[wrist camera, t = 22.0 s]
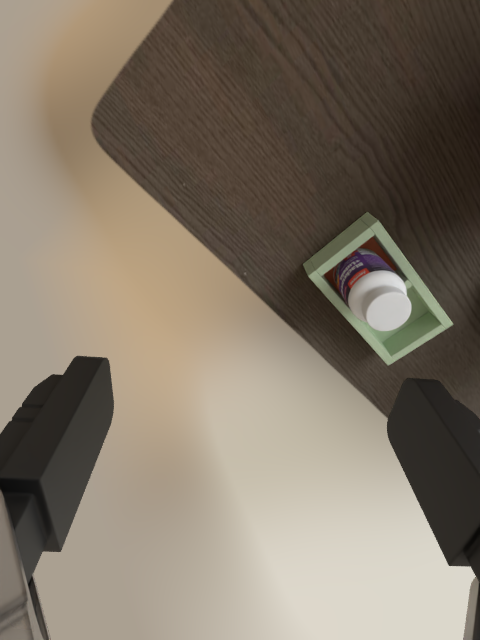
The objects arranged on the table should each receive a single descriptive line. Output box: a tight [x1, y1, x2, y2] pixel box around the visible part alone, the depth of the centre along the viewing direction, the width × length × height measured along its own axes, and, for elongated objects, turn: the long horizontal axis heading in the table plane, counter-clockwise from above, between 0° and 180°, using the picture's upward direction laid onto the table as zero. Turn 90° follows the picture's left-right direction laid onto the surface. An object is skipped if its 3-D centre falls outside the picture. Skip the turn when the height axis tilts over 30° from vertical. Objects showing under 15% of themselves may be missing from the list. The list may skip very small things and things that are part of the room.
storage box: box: [303, 212, 453, 365], centre depth 40 cm, size 8×16×3 cm, turn 43°
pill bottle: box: [333, 248, 411, 331], centre depth 36 cm, size 5×5×10 cm
